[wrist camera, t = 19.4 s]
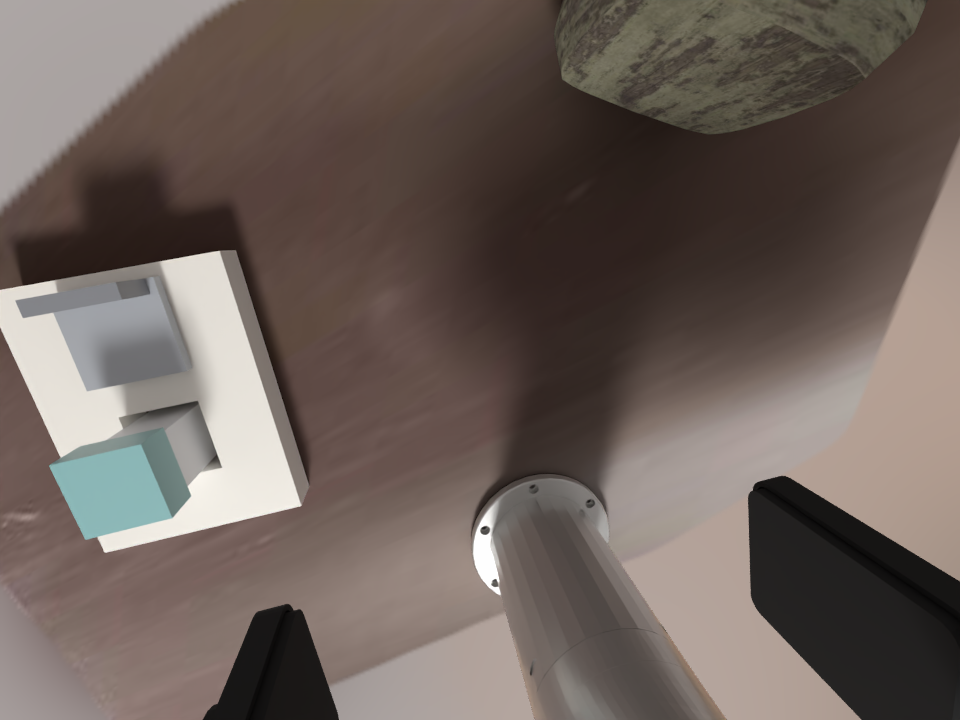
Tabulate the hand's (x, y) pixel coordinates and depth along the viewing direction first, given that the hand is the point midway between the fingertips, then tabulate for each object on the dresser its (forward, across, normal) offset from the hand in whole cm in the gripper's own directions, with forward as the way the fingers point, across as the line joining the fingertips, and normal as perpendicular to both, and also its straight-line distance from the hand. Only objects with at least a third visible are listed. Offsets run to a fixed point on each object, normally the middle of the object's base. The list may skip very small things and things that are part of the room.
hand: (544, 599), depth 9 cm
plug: (+28, +20, +3) cm, 35 cm away
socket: (+28, +20, +1) cm, 35 cm away
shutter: (+25, +20, -5) cm, 32 cm away
